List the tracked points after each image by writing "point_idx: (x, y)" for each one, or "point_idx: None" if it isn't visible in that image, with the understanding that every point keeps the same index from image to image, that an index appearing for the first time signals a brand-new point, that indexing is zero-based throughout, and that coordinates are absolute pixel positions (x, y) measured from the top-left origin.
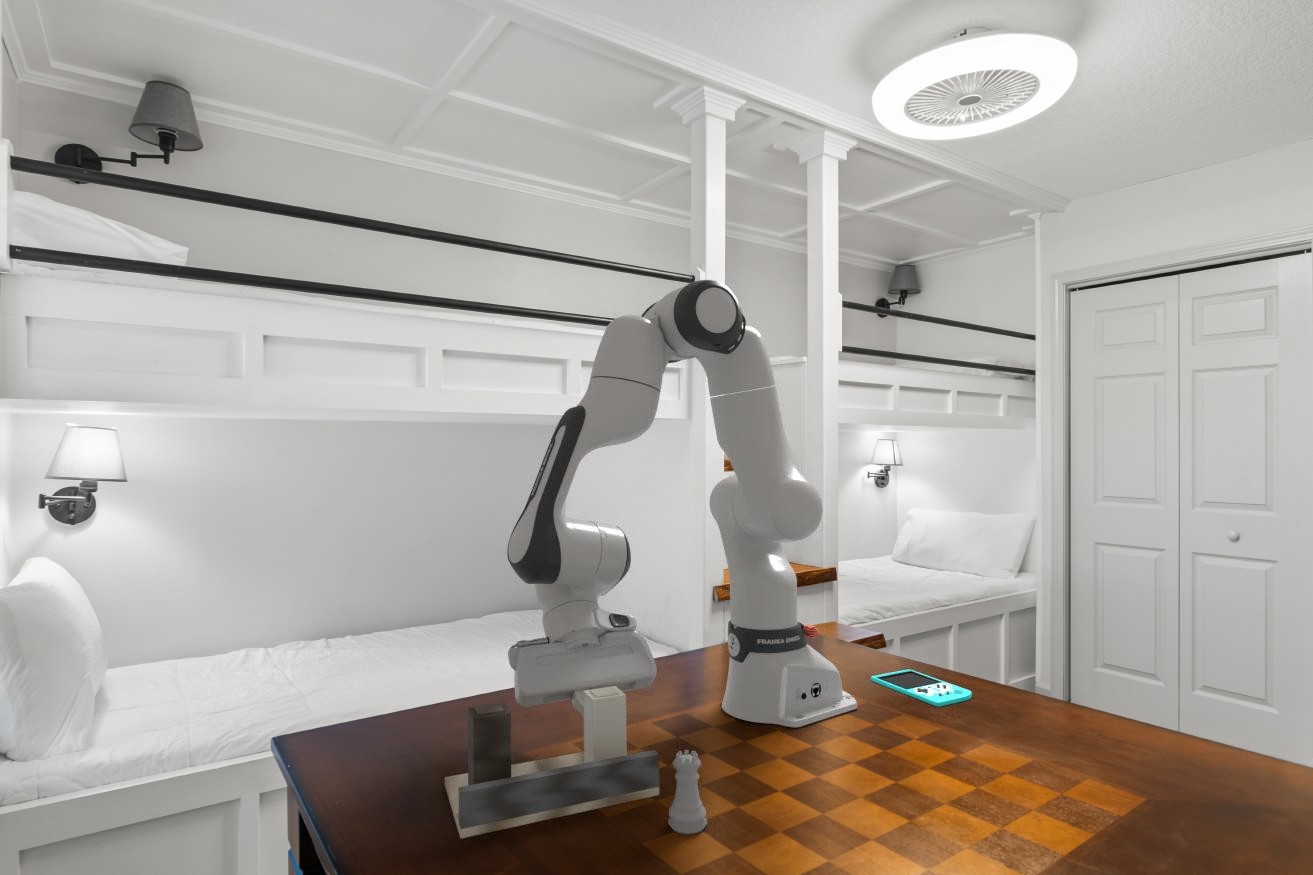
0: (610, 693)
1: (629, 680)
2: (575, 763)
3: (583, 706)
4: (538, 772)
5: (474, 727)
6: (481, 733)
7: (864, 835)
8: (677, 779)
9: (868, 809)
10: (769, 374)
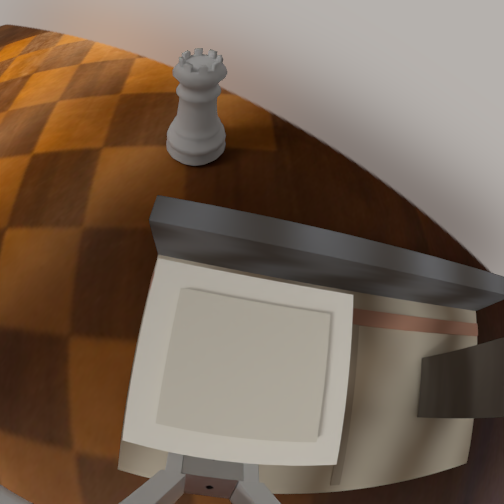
0: (237, 310)
1: (9, 490)
2: None
3: (270, 495)
4: (429, 276)
5: None
6: None
7: (77, 68)
8: (220, 89)
9: (28, 93)
10: None
